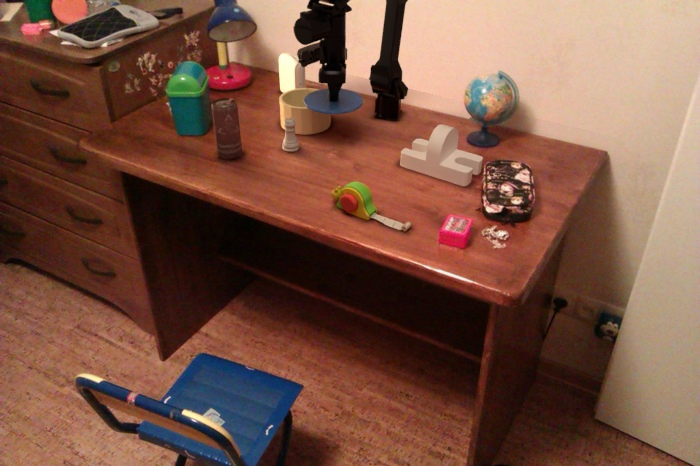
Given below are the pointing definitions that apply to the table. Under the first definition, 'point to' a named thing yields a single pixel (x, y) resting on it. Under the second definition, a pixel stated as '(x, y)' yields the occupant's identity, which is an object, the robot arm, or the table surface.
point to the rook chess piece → (290, 136)
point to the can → (227, 128)
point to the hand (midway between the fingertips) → (333, 97)
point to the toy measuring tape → (363, 204)
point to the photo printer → (291, 73)
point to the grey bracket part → (442, 157)
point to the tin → (302, 112)
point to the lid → (333, 102)
